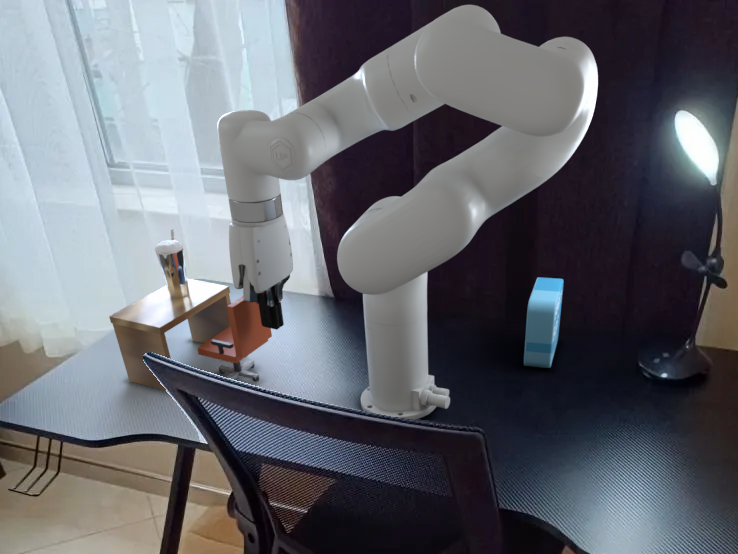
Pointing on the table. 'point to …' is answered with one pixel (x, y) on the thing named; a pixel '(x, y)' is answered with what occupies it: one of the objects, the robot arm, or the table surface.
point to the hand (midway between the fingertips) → (272, 325)
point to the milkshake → (173, 266)
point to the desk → (168, 324)
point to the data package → (543, 322)
